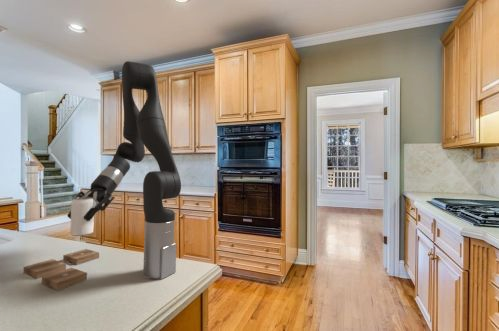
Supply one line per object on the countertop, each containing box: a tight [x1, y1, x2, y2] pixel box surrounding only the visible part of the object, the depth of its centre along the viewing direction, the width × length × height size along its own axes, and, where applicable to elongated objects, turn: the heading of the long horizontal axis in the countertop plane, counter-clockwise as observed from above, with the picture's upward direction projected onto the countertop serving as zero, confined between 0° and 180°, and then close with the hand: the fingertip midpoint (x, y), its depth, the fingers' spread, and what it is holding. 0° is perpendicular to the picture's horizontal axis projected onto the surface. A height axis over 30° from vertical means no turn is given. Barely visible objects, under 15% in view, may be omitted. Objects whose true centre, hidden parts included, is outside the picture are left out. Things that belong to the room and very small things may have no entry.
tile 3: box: [62, 248, 100, 266], centre depth 93 cm, size 8×8×2 cm
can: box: [70, 197, 95, 237], centre depth 85 cm, size 6×6×12 cm
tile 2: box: [22, 258, 67, 280], centre depth 82 cm, size 8×8×2 cm
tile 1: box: [41, 267, 88, 291], centre depth 75 cm, size 8×8×2 cm
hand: (78, 218), depth 84 cm, fingers closed on can, 6 cm apart
